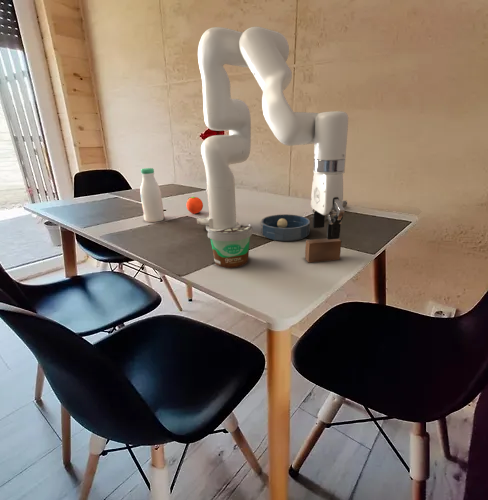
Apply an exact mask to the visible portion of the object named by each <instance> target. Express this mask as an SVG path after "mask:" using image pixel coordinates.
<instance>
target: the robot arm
mask: <svg viewBox="0 0 488 500" xmlns="http://www.w3.org/2000/svg"><path fill="white" fill-rule="evenodd" d="M289 55H290V47H289V42H288V40H287V38H286V37H285V35H284V34H283V33H281V32H279V31H276V30H272V29H268V28H265V27H262V26H251V27H248V28H247V29H245V30H244V31H243V32H242V31H239V30H236V29H231V28H228V27H222V26H214V27H210V28H207V29H206V30H205V31H204V32H203V33H202V35H201V37H200V40H199V42H198V46H197V61H198V62H197V63H198V67H199V72H200V77H201V84H202V103H203V104H202V105H203V118H204V123H205V126H206V127H207V129H209V130H211V131H215V132H217V131H219V132H222V131H228V132H229V133H228V134H217V135H216V134H215V135H210V136H208V137H207V138H205V139H204V140H203V141H202V143H201V145H200V154H201V158H202V162H203V165H204V166H203V167H204V171H205V179H206V191H207V192H206V193H207V204H208V214H207V217H205V218H196V224H197V225H200V226H205V230H206V232H208V231H209V229H210V230H212V231H220V230H224V229H227V228H241V227H242V225H241V223H240V222H239V221H237V206H236V205H237V204H236V184H235V183H236V182H235V176H234V173H233V171H232V169H231V167H230V165H235V164H241V163H244V162H247V160H248V159H249V157H250V153H251V148H252V147H251V143H252V139H251V137H252V132H251V131H252V130H251V129H252V124H251V123H252V119H251V118H252V117H251V111H250V108H249V106H248V104H247V103H246V102H245V101H243V100H242V99H238V98H232V96H231V95H232V94H231V81H230V77H229V75H228V73H227V72H228V71H226V69H225V67H224V65H229V66H236V67H242V68H248V69H249V70H250V72H251V73H252V75H253V77H254V79H255V80H256V82H257V84H258V86H259V88H261V91H262V96H261V109H262V115H263V118H264V121H265V122H266V124H267V125H268V127H269V129H270V131H271V132H272V134H273V136H274V137H275V138H276V139H277V140H278V142H279V143H281V144H282V145H285V146H289V147H293V146H300V145H302V146H304V145H313V144H314V145H313V168H312V169H313V171H312V173H313V177H312V183H311V193H310V194H311V195H310V208H311V209H312V210H313V212H312V216H313V217H312V228H313V229H321V228H325V222H326V221H325V220H326V219H325V218H326V216H327V220H328V223H327V227H326V238H327V239H328V240H330V239H339V240H340V238H341V225H342V223H343V219H344V214H345V208H344V207H343V201H344V174H345V171H346V157H347V145H348V130H349V115H348V113H347V112H346V111H342V110H341V111H340V110H339V111H336V110H335V111H334V110H333V111H322V112H320V113H319V112H306V111H294V110H293V109H292V107H291V105H290V104H289V102H288V100H287V99H286V97H285V94H284V91H285V90H286V89H287V88H288V86H289V85H290V83H291V81H292V79H293V72H292V70H291V67H290V66H289V65H288V63H287V61H288V60H289V59H288V58H289ZM330 211H331V212H330ZM313 213H314V214H313ZM326 214H327V215H326ZM325 215H326V216H325Z"/></svg>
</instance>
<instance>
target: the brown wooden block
mask: <svg viewBox="0 0 488 500" xmlns="http://www.w3.org/2000/svg"><path fill="white" fill-rule="evenodd" d="M341 249H342V240H341V239H340V238H339V239H330V240H328V239H327V237H326V238H315V239H314V238H313V239H306V240H305V252H304V254H305V256H304V259H305V261H307V263H319V262H329V261H330V262H331V261H340V259H341Z"/></svg>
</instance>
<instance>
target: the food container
mask: <svg viewBox="0 0 488 500" xmlns="http://www.w3.org/2000/svg"><path fill="white" fill-rule="evenodd" d="M253 233H254V232H253V227H252V225H251V223H248V225H247V226H243V227H242V226H241V228H227V229H224V230H220V231H212V230H210V229H209V231H207V238H208V239H209V240H210V244H211V249H212V250H211V251H212V255H213V261H214V264H215V265H216V266H218V267H220V268H225V269H234V268H235V269H236V268H240V267H243V266H245V265H247V264H248V263H249V257H250V256H249V255H250V241H251V236H252V235H253Z"/></svg>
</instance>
